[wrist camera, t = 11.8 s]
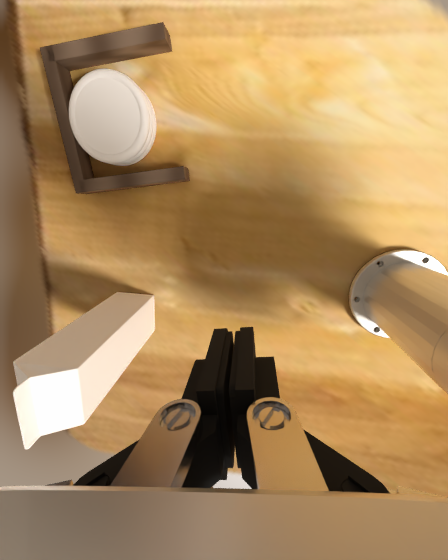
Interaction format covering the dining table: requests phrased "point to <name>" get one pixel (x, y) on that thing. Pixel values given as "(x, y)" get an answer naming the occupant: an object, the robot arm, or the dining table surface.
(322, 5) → the dining table surface
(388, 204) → the dining table surface
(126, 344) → the milk
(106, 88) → the white plate stack
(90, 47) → the bay
